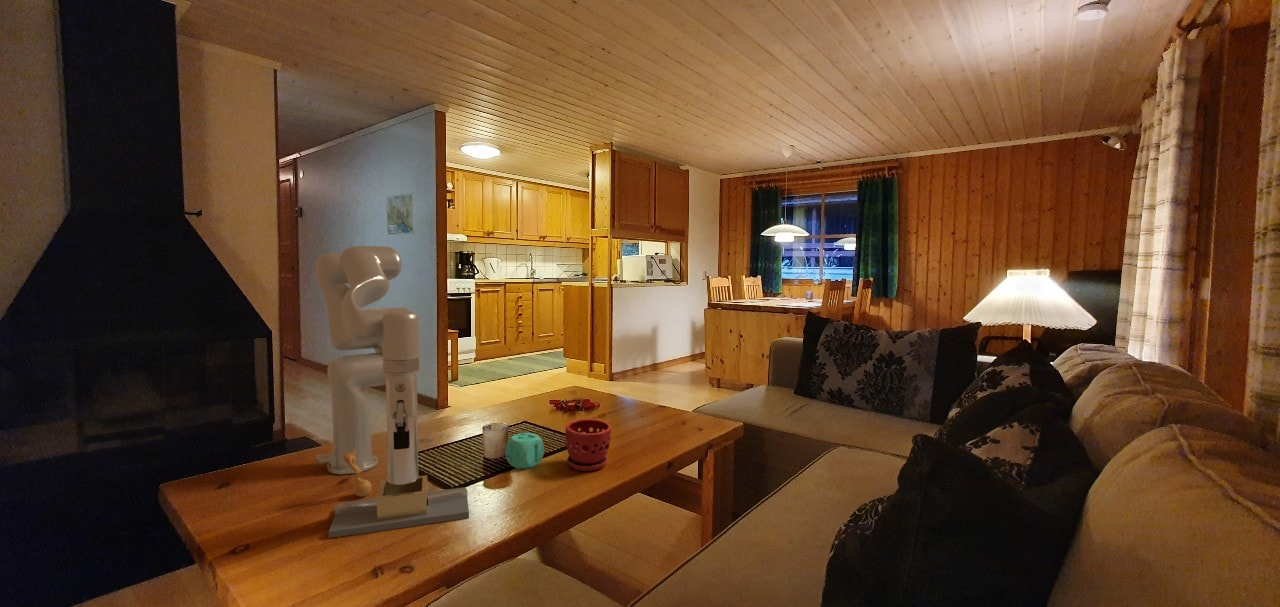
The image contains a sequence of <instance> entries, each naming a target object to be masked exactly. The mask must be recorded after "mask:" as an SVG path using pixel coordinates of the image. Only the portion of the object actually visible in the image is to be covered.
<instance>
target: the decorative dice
mask: <svg viewBox="0 0 1280 607" xmlns="http://www.w3.org/2000/svg"><path fill="white" fill-rule="evenodd" d="M504 451H505V457H506V460H507V462H508V464H509V465H510V466H511V467H512V466H513V468H514V467H515V469H517V470H518V469H519V470H528V469H532V468H535V467H537V466H538V465H539V464H540V463H541V461H542V459H543V457H544V454H545V445H544V441H543V440H542V438H541V437H540V435H539V434H536V433H533V432H532V433H531V432H522V433H521V432H520V433H516V434H514V435H512V436H511V437H510V438H509V439H508V441H507V443H506V446H505V450H504Z"/></svg>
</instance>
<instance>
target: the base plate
mask: <svg viewBox="0 0 1280 607" xmlns="http://www.w3.org/2000/svg"><path fill="white" fill-rule="evenodd" d="M464 488H466V489H467V487H465V486H464V487H456V488H448V489H441V490H433V491H427V496H430V495H435V494H440V493H445V492H449V491H454V490H459V489H464ZM375 502H377V497H376V498H370V499H363V500H362V499H361V500H355V501H354V500H353V501H346V502H345V501H344V502H340V503H339V504H354V503H375ZM469 510H470V509H469V502H468V496H467V497H465V498H460V499H456V500H451V501H447V502H442V503H437V504H433V505H428V504H427V514H422V515H415V516H407V517H400V518H393V519H386V520H379V521H377V512H374V513H354V514H335V513H334V517H333V520H332V522H331V525H330V526H329V527H330V528H329V530H328V539H329V538H330V539H332V538H331V537H337V538H342V537H341V536H344V537H349V536H348V535H351V536H355V535H364V534H368V533H369V534H370V533H376V532H377V533H378V532H384V531H390V530H397V529H403V528H405V529H406V528H410V527H419V526H424V525H425V524H426V525H432V524H431V523H433V524H437V523H438V524H439V523H444V522H446V523H447V522H452V521H458V520H467V519H469V518H470V511H469ZM423 524H424V525H423ZM418 525H419V526H418Z"/></svg>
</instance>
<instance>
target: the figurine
mask: <svg viewBox="0 0 1280 607" xmlns="http://www.w3.org/2000/svg"><path fill="white" fill-rule="evenodd" d="M355 454H356V452H355V450H352V451H351V452H349V453H347V454H345V455H344V456H343V459H344V461H345V462H346V463H347V464H348V465H349V467H351V468H352V469H353V471H354V472H356V473H354V476H355V480H357V482H356V483H355V484H354V487H353V493H354V495H356V496H357V497H360V498H362V497H366V496H367V495H369V494H370V492H372V486H373V485H372V483H371V482H370V480H368V479H363V478H360V476H361V475H362V473H363V471H361V468H359V467H358V466H356V465H355V456H354V455H355Z"/></svg>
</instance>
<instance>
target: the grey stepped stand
mask: <svg viewBox="0 0 1280 607" xmlns="http://www.w3.org/2000/svg"><path fill="white" fill-rule="evenodd" d="M418 476H419V475H418ZM377 492H378V493H377V497H376V498H377V502H375V503H354V504H340V503H338V504H336V506H334V515H335V514H354V513H374V512H377V521H379V520H386V519H393V518H400V517H407V516H415V515H422V514H427V504H428V505H433V504H437V503H442V502H447V501H451V500H456V499H460V498H465V497H467V498H468V490H467V487H466V488H464V489H459V490H454V491H449V492H445V493H440V494H435V495H430V496H427V492H428V475H420V476H419V477H418V479H417V480H416V481H414V482H412V483H409V484H404V485H392V484H390V483H388V479H385V480H381V481H380V485H379V489H378V491H377Z"/></svg>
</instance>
